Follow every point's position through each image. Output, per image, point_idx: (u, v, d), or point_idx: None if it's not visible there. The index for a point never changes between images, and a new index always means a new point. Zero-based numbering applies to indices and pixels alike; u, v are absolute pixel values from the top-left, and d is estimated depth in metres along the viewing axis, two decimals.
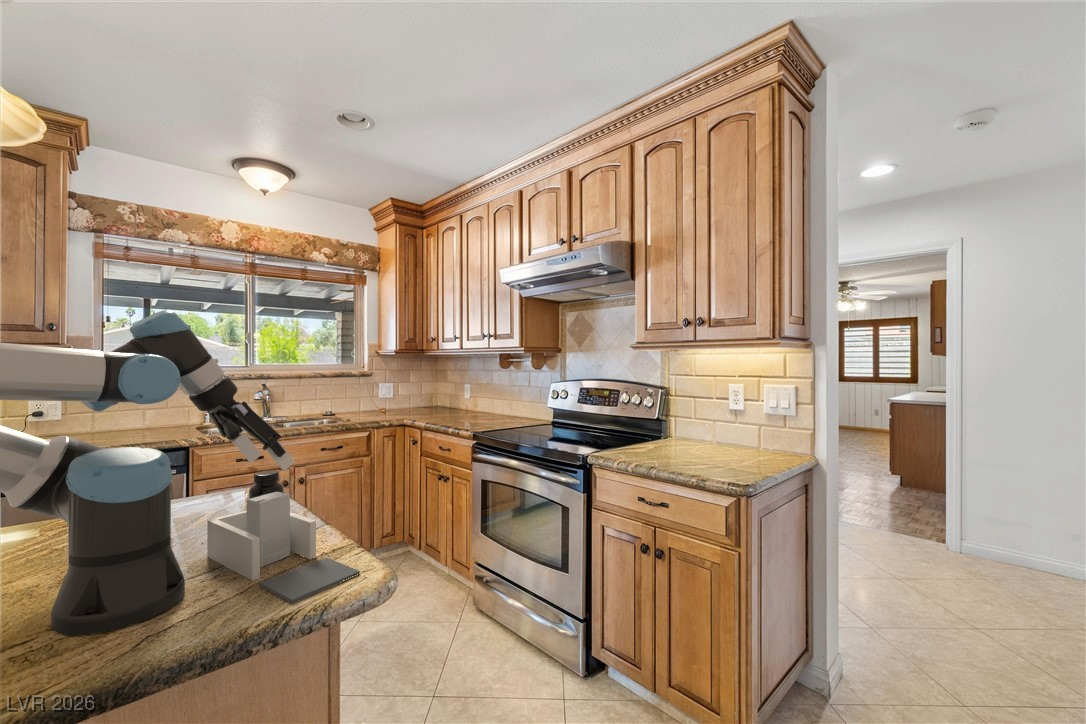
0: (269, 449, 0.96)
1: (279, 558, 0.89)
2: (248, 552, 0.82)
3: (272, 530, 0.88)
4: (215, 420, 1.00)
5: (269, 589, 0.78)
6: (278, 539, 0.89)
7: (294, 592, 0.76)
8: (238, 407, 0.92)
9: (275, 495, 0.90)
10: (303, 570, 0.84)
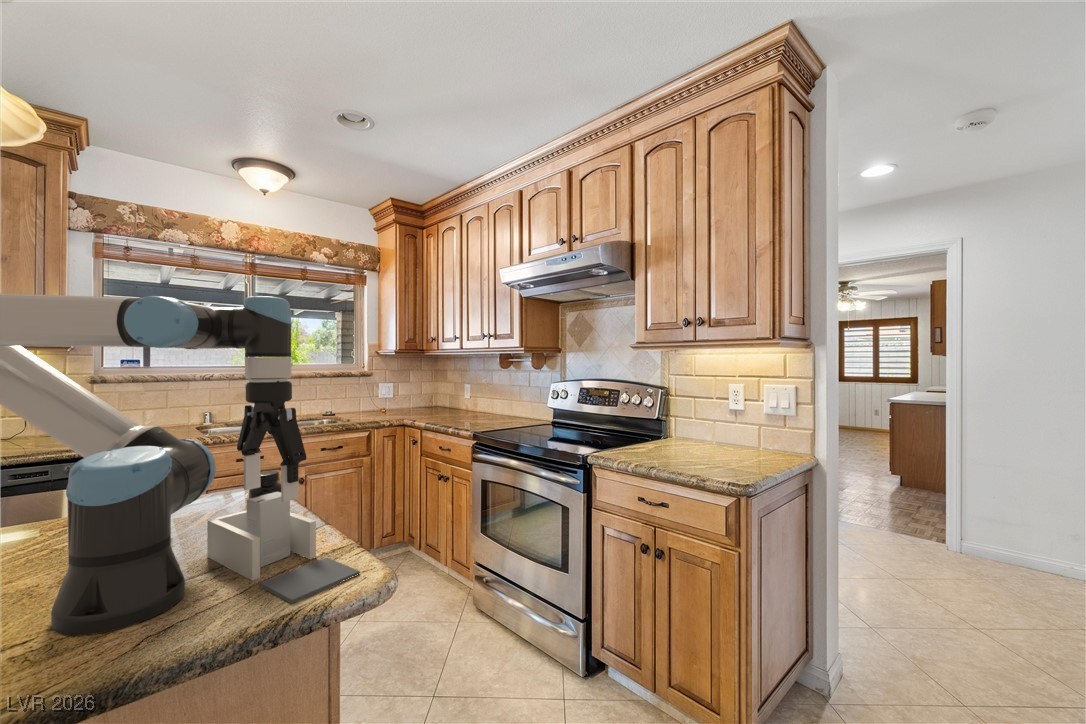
0: (285, 469, 0.85)
1: (279, 558, 0.89)
2: (248, 552, 0.82)
3: (272, 530, 0.88)
4: (245, 425, 0.92)
5: (269, 589, 0.78)
6: (278, 539, 0.89)
7: (294, 592, 0.76)
8: (286, 409, 0.85)
9: (275, 495, 0.90)
10: (303, 570, 0.84)
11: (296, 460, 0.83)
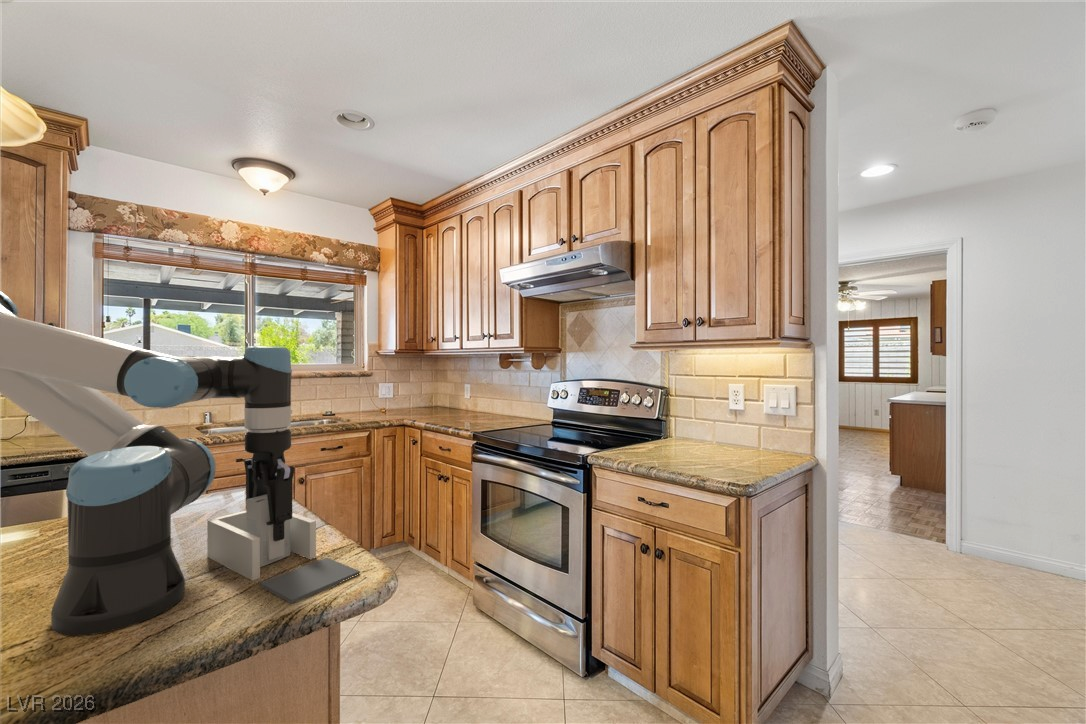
0: (271, 527, 0.87)
1: (278, 558, 0.89)
2: (248, 552, 0.82)
3: None
4: (248, 480, 0.91)
5: (269, 589, 0.78)
6: None
7: (294, 592, 0.76)
8: (285, 470, 0.85)
9: None
10: (303, 570, 0.84)
11: (282, 520, 0.86)
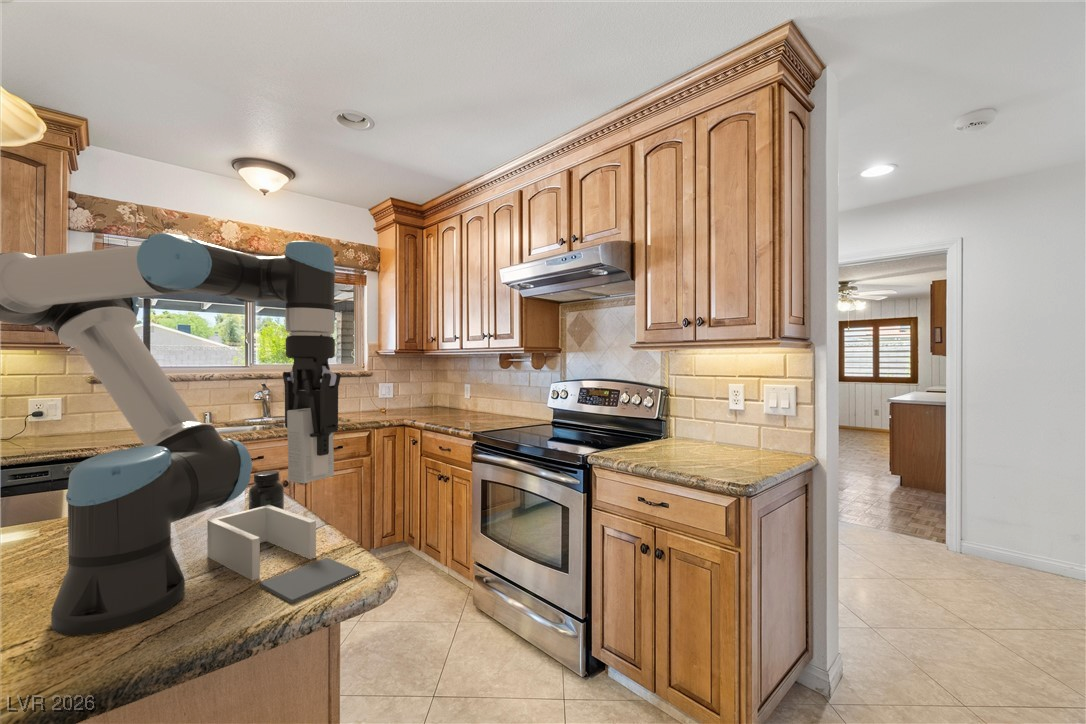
0: (315, 441, 0.79)
1: (322, 476, 0.81)
2: (248, 552, 0.82)
3: None
4: (288, 393, 0.83)
5: (269, 589, 0.78)
6: None
7: (294, 592, 0.76)
8: (331, 376, 0.77)
9: None
10: (303, 570, 0.84)
11: (327, 431, 0.78)
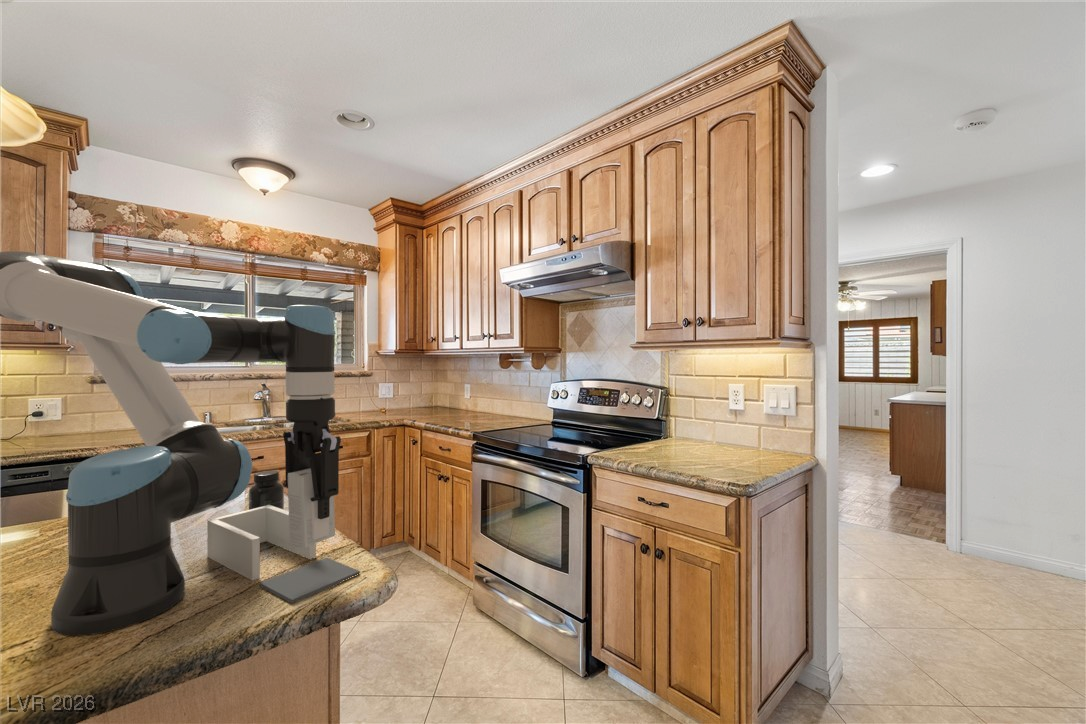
0: (315, 504, 0.79)
1: (323, 538, 0.81)
2: (248, 552, 0.82)
3: None
4: (289, 453, 0.83)
5: (269, 589, 0.78)
6: None
7: (294, 592, 0.76)
8: (332, 440, 0.78)
9: None
10: (303, 570, 0.84)
11: (328, 495, 0.78)
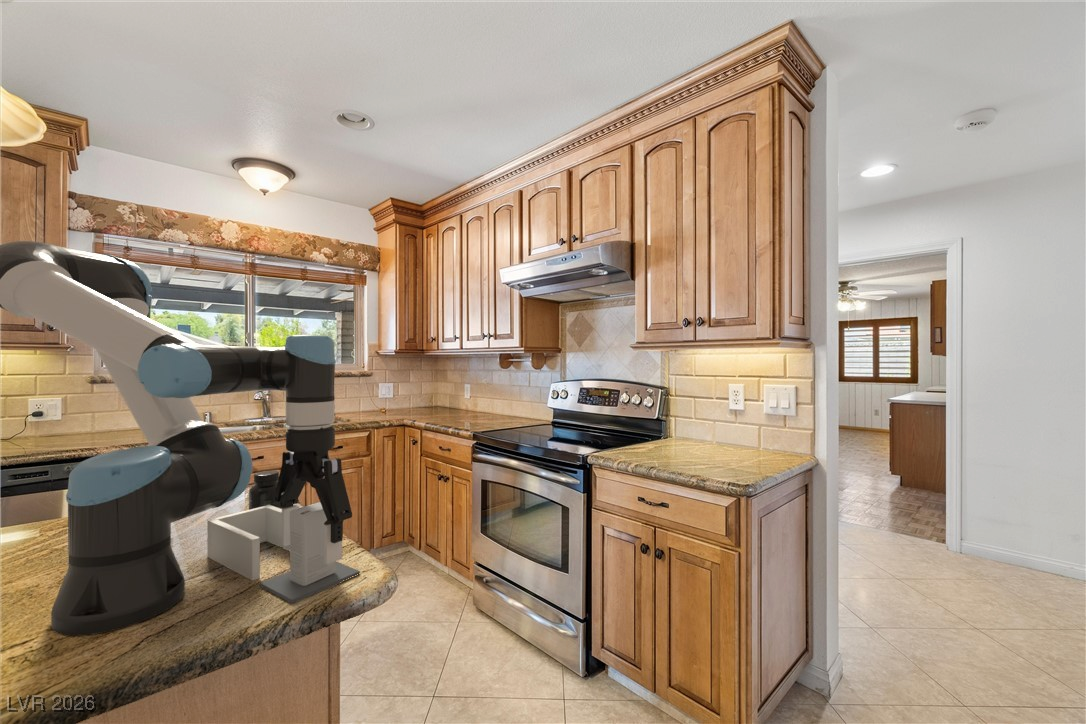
0: (329, 528, 0.77)
1: (324, 575, 0.81)
2: (248, 552, 0.82)
3: (317, 544, 0.80)
4: (283, 474, 0.84)
5: (269, 589, 0.78)
6: None
7: (294, 592, 0.76)
8: (332, 461, 0.78)
9: (320, 506, 0.82)
10: None
11: (342, 519, 0.76)
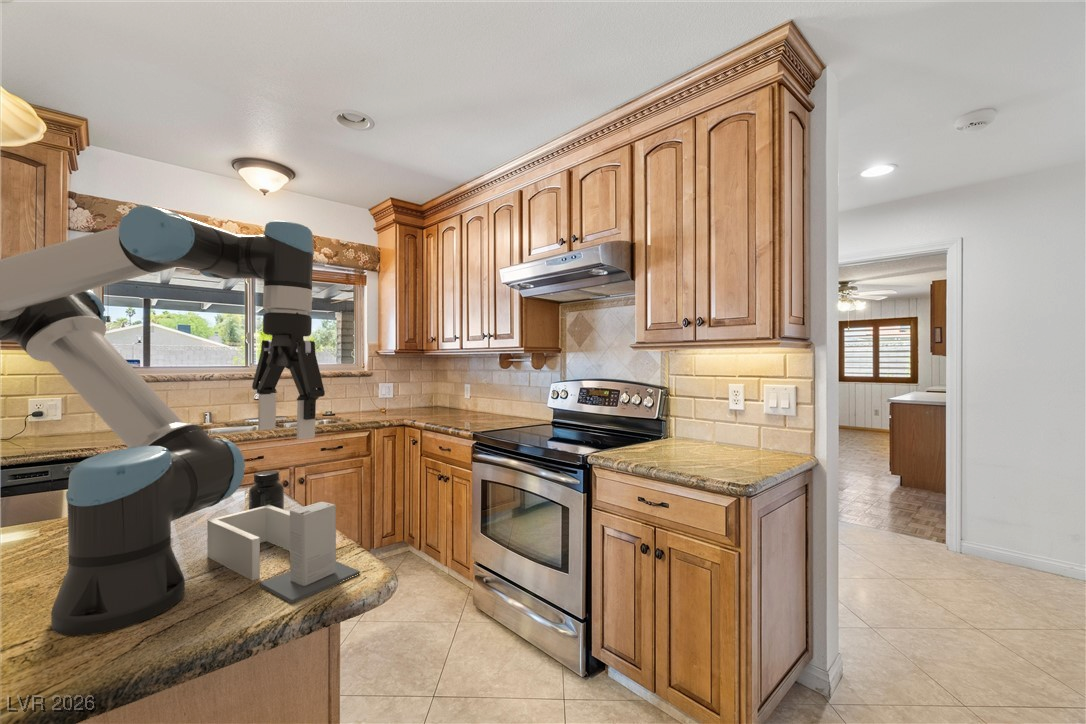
0: (302, 404, 0.79)
1: (324, 575, 0.81)
2: (248, 552, 0.82)
3: (317, 544, 0.80)
4: (261, 362, 0.87)
5: (269, 589, 0.78)
6: (324, 555, 0.81)
7: (294, 592, 0.76)
8: (305, 342, 0.80)
9: (320, 506, 0.82)
10: None
11: (314, 395, 0.78)
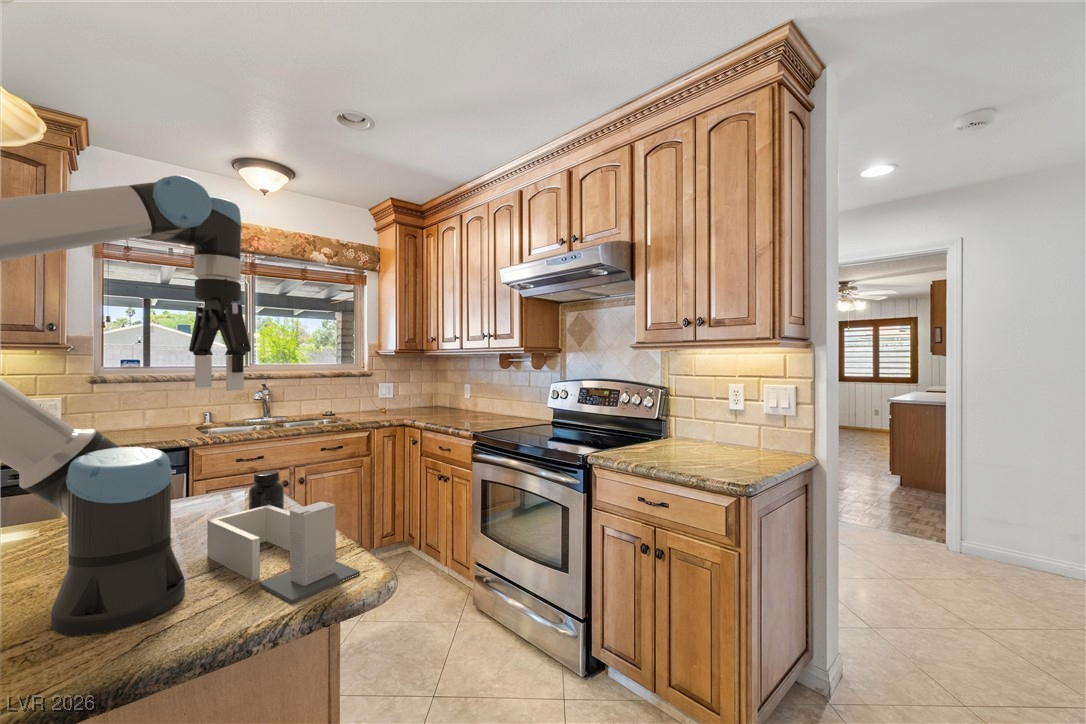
0: (230, 359, 0.89)
1: (324, 575, 0.81)
2: (248, 552, 0.82)
3: (317, 544, 0.80)
4: (196, 326, 0.96)
5: (269, 589, 0.78)
6: (324, 555, 0.81)
7: (294, 592, 0.76)
8: (232, 304, 0.90)
9: (320, 506, 0.82)
10: None
11: (240, 349, 0.88)
